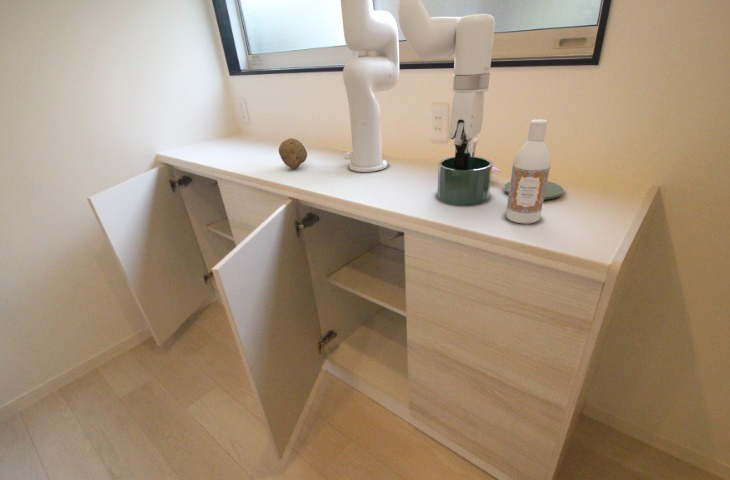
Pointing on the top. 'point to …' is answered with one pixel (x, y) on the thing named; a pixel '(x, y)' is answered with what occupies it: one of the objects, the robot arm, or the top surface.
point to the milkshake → (471, 151)
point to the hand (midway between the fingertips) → (464, 166)
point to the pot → (464, 182)
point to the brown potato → (292, 153)
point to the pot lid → (550, 192)
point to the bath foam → (529, 177)
